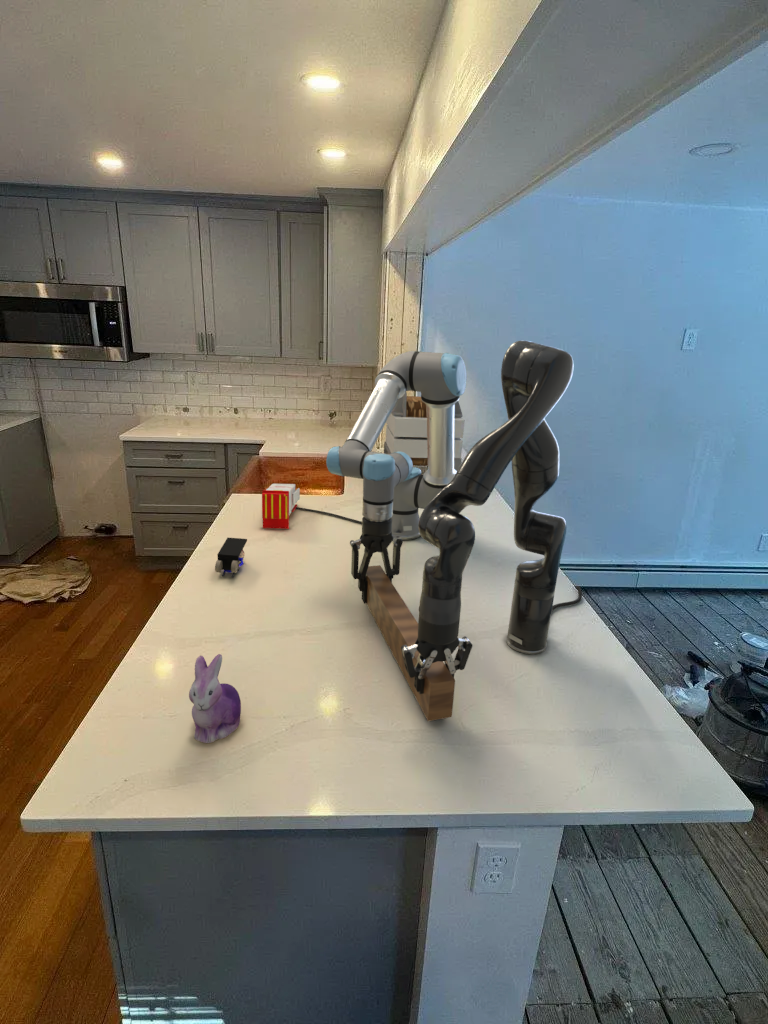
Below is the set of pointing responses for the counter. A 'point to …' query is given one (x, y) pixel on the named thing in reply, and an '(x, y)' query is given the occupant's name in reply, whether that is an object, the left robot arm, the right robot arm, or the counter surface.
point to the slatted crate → (417, 430)
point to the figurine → (213, 702)
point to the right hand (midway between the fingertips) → (433, 688)
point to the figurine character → (230, 556)
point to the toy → (279, 505)
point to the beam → (408, 644)
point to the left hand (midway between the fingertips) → (374, 599)
